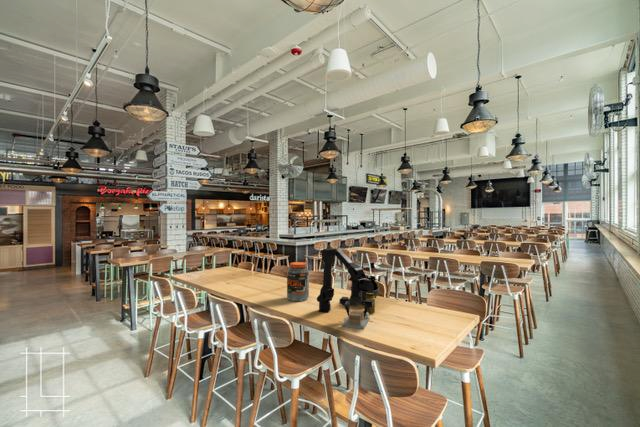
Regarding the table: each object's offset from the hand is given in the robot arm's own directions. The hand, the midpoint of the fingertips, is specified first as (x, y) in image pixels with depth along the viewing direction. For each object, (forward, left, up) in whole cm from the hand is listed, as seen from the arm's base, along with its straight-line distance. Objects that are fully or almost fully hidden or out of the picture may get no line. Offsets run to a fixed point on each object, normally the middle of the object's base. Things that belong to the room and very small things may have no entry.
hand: (356, 316), depth 168 cm
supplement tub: (-51, +31, -4) cm, 60 cm away
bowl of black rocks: (-4, +41, -4) cm, 41 cm away
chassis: (0, 0, -3) cm, 3 cm away
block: (0, 0, -2) cm, 2 cm away
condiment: (+3, +20, -4) cm, 21 cm away
